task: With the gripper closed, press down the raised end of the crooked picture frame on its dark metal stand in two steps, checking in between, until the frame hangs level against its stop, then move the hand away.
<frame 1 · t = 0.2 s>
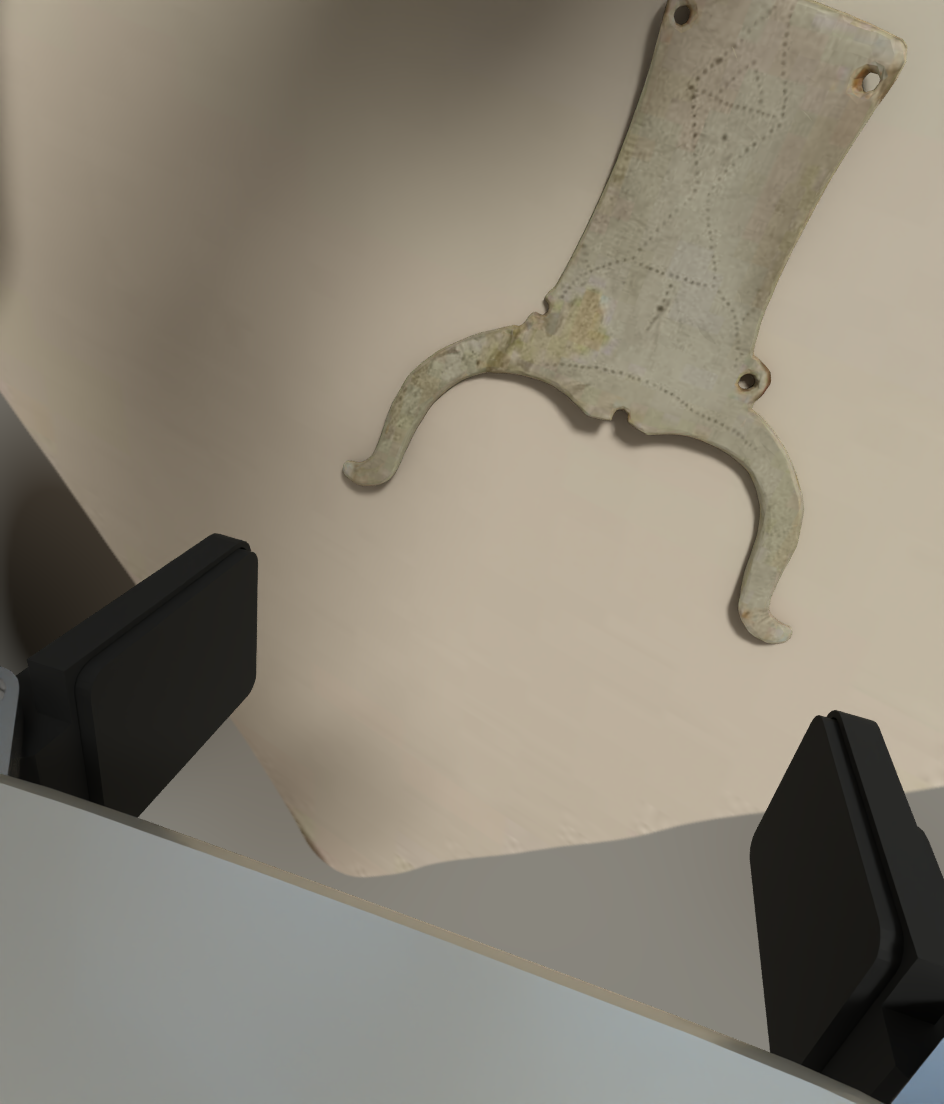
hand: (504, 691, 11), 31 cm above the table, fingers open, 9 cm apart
decorative wall piece: (647, 325, 39), on the table
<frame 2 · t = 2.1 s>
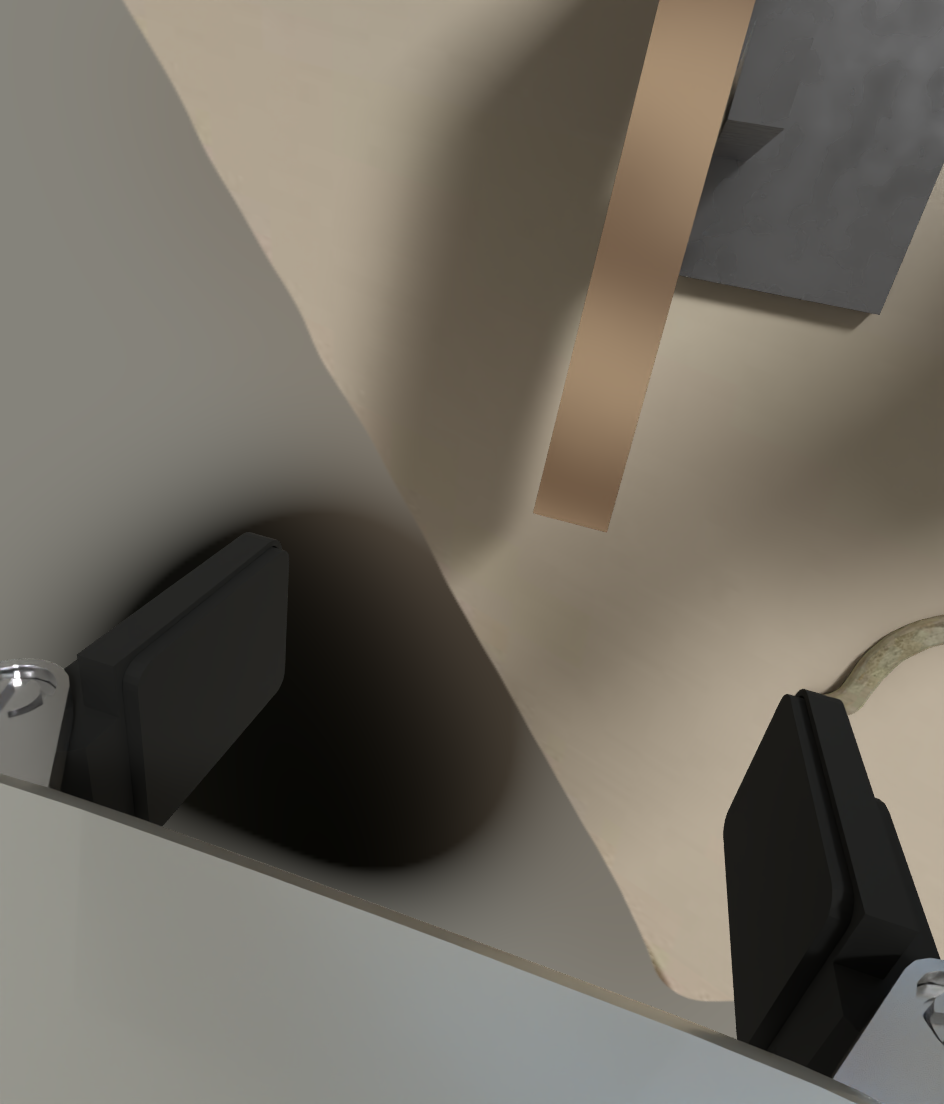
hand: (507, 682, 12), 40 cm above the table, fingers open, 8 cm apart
frame stand: (692, 124, 41), on the table
picture frame: (690, 72, 26), point 17 cm above the table, hinge at 12.0°
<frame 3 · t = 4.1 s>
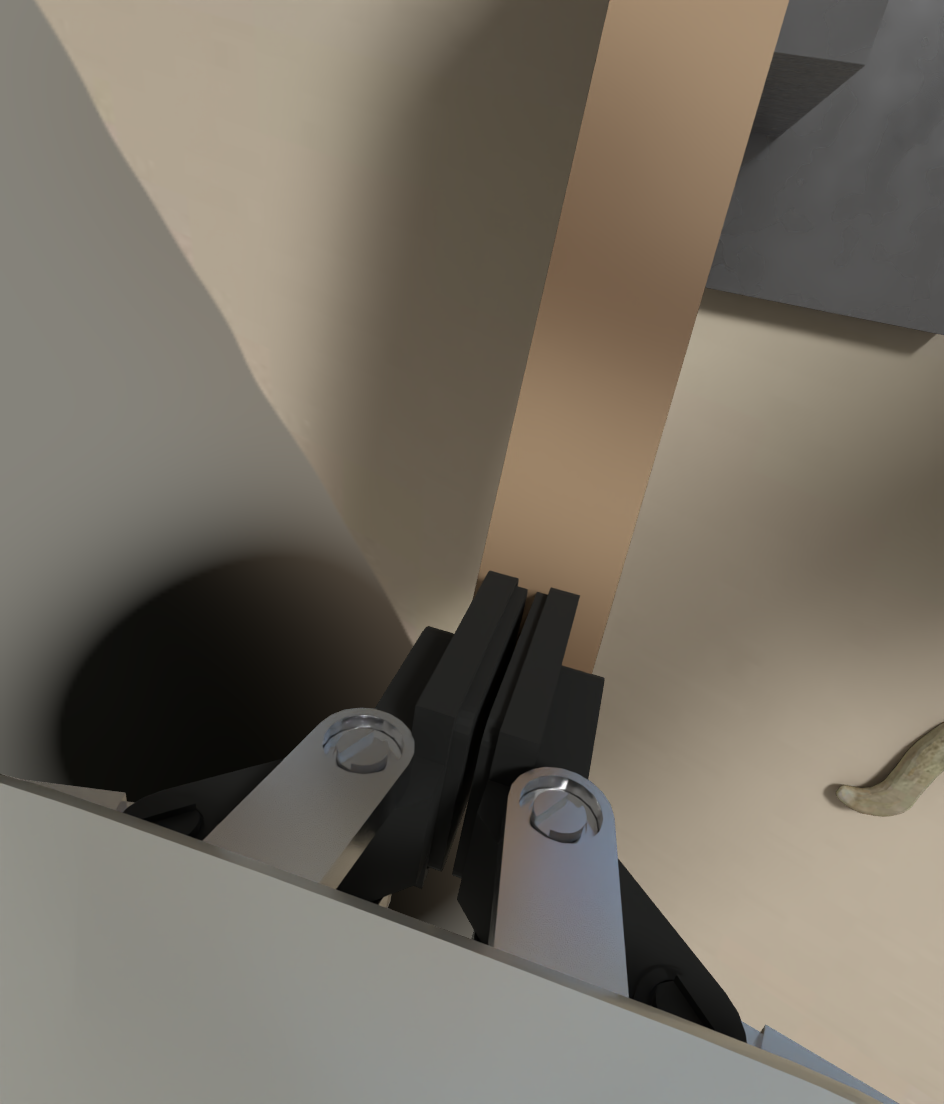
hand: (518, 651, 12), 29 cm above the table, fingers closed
frame stand: (708, 89, 32), on the table
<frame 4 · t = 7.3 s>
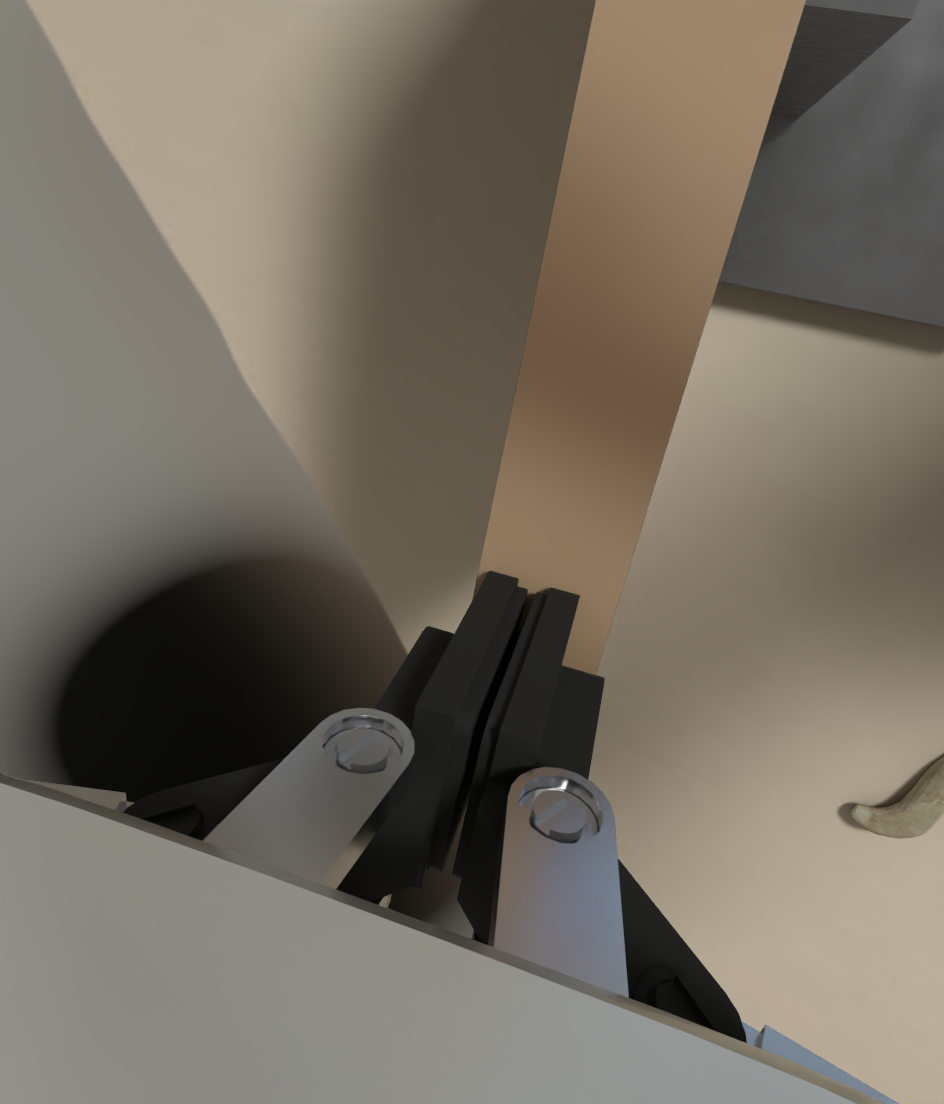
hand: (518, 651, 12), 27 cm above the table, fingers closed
frame stand: (723, 66, 29), on the table
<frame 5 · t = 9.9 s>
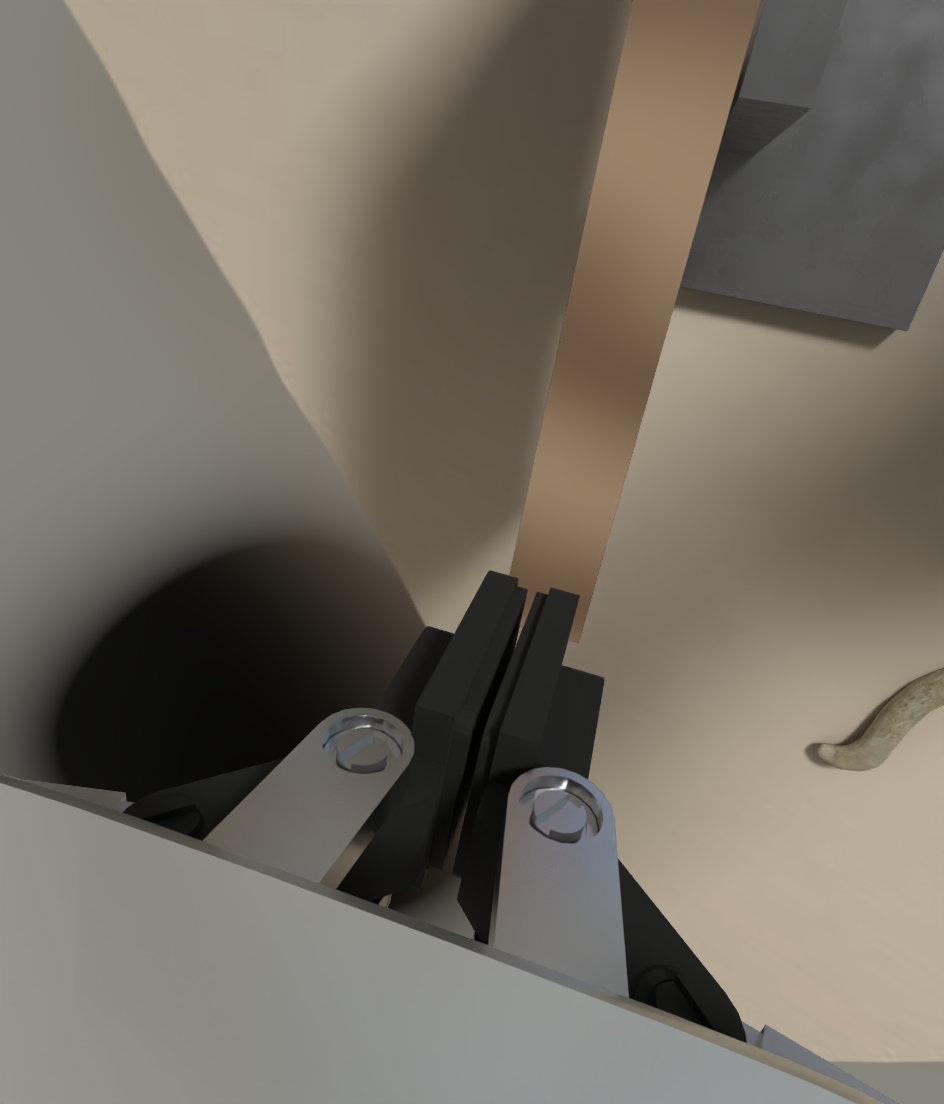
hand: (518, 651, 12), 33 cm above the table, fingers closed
frame stand: (691, 113, 36), on the table
picture frame: (691, 39, 21), point 17 cm above the table, hinge at 0.0°
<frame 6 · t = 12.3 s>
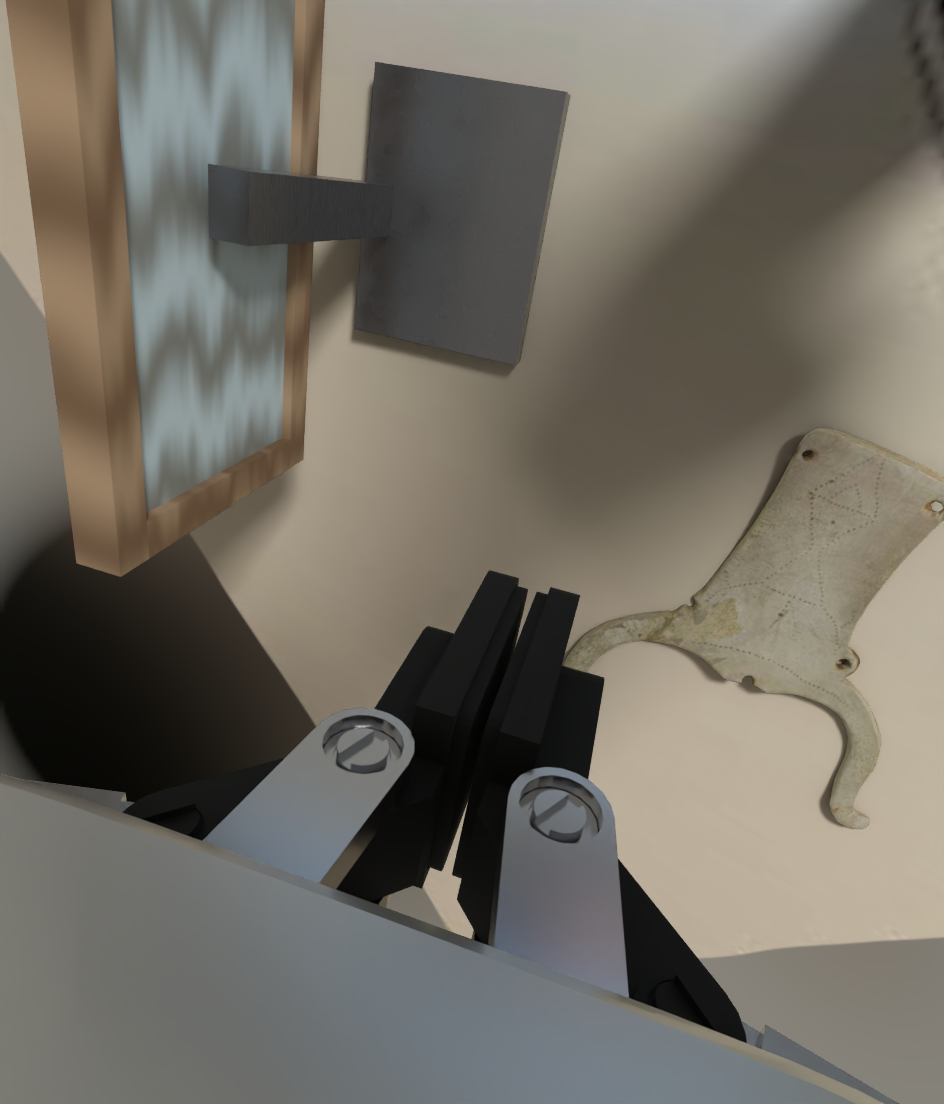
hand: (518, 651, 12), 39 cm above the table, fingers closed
frame stand: (352, 202, 48), on the table
picture frame: (200, 195, 33), point 17 cm above the table, hinge at 0.0°
decorative wall piece: (766, 615, 53), on the table
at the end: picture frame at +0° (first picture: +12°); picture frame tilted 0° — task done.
